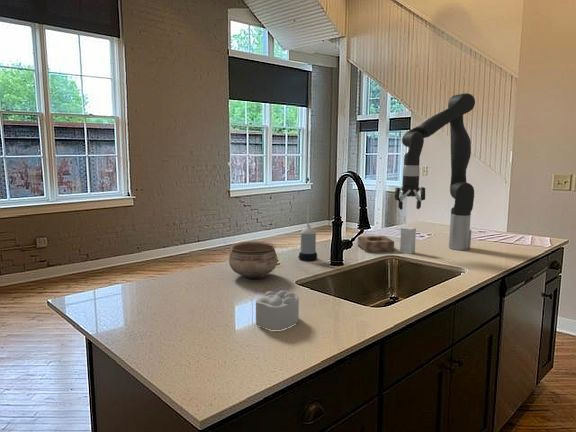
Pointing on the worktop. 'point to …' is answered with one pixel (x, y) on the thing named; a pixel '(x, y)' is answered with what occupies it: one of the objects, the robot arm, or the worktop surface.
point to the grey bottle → (308, 242)
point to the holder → (375, 244)
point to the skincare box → (407, 240)
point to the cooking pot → (253, 259)
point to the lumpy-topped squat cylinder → (277, 310)
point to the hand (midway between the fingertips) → (409, 209)
